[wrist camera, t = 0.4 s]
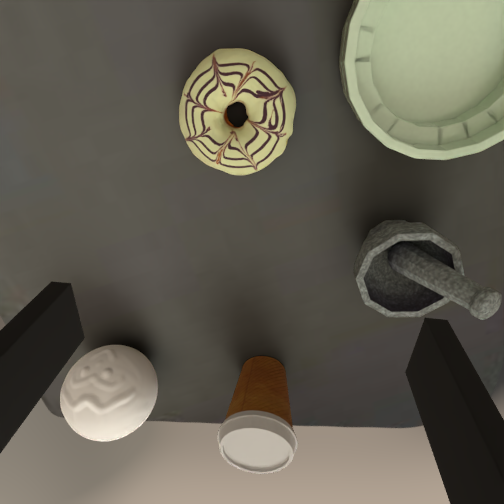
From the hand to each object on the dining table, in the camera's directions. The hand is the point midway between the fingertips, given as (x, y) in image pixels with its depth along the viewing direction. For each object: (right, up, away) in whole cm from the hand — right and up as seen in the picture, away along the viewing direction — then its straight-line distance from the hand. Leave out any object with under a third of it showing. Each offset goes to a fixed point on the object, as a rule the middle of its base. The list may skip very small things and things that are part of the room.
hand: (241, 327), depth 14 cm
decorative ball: (-18, -13, +40) cm, 45 cm away
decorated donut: (-1, +17, +22) cm, 27 cm away
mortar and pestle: (+17, +4, +27) cm, 32 cm away
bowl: (+16, +20, +17) cm, 31 cm away
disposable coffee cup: (+2, -14, +38) cm, 41 cm away
